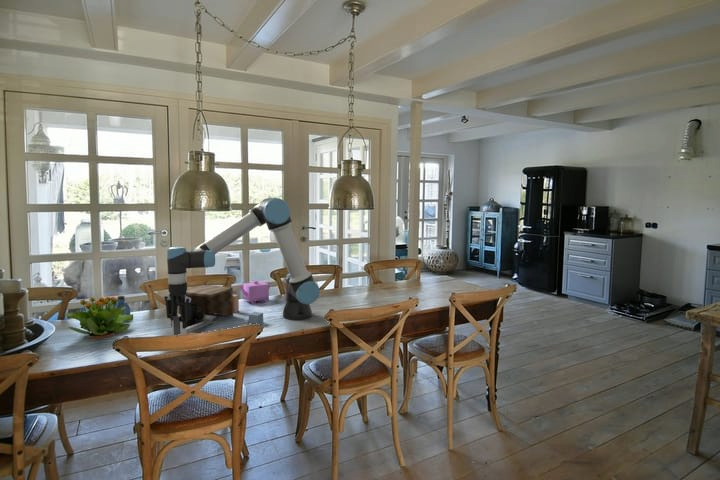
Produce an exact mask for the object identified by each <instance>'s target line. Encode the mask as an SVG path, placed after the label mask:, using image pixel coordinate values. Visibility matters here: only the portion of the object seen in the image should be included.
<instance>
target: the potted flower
mask: <svg viewBox="0 0 720 480" xmlns="http://www.w3.org/2000/svg"><path fill="white" fill-rule="evenodd" d="M79 302H80V306H81V305H82V306H83V307H84V310H81V311H80V312H79V311H74V312H73V311H72V312H65V313H64V315H65V316H66V318H70V319H73V320H77V321H79V325H80V328H81V329H80V328H77V327H73V326H67V328H68V329H69V330H71V331H73V332H76V333H78V334H79V333H80V334H83V335H88V336H89V338H90V339H92V340H94V339H95V340H99V339H100V340H101V339H106V338H110V337H112V336H115V334H116V333H117V334H122V333H123V332H126V330H128V329H129V328H130V327H131V324H130V323H124V322H133V320H134V314H133V313H130V314H129V315H126V314H124V315H121V313H123V312H124V311H123V310H124V309H126V307H124V308H122V309H121V308H116V309H115V308H114V305H115V304H116V305H117V303H118V298H116V297H115V296H111V297H110V296H106V297H100V298H99V299H98V300H96V298H95V297H94V296H91V297H90V298H89V300H87V301H86V299H85V298H84V299H81V300H80V301H79ZM116 305H115V306H116ZM104 306H105V307H104ZM87 310H88V311H87Z"/></svg>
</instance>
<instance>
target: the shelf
mask: <svg viewBox="0 0 720 480" xmlns="http://www.w3.org/2000/svg"><path fill="white" fill-rule="evenodd" d="M233 289H234V287H229V286H221V285H212V284H211V285H210V284H202V285H198V286H195V287H191V288H187V291H186V294H187V297H189V298H192V302H191V303H194V304H197V307H204V312H203V313H204V314H211V315H222V316H230V317H233V316H234V313H233V293H234V290H233ZM197 312H198V313H202V308H197Z"/></svg>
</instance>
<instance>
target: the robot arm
mask: <svg viewBox="0 0 720 480" xmlns="http://www.w3.org/2000/svg"><path fill="white" fill-rule="evenodd" d="M265 224H266V226H267V229H268V231H270V232H272V233H273V235H274V238H275V240H276V243H277V245H278V249H279V251H280V254H281V256H282V258H283V261H284V264H285V267H286V270H287V271H288V273H287V274H286V276H285V297H286V299H285V305H284V307H283V312H282V318H284V319H287V320H291V321H292V320H295V321H297V320H305V319H309V318H311V317H312V316H313V310H312V308H311V304H313V303H314V302H316V301H317V300H318V299H319V296H320V294H321V290H320V286H319V285H318V283H317V282H315V279H314V277H313V276H314V275H313V274H312V272H311V271H309V270H308V268H307V267H306V264H305V261H304V259H303V256H302V253H301V250H300V248H299V246H298V243H297V240H296V238H295V234H294V233H293V229H292V227H291V225H292V217H291V209H290V206H289V204H288V203H287V202H286V201H285V200H284V199H282V198H280V197H279V198H278V197H267V198H264V199H263V200H261V201H260V202H259V203H258V204H256V205H255V206H254V207H252V208H250V209H249V210H248V213H246V214H245V215H244V216H242V217H241V218H239V219H238V220H236V221H235V222H233V223H232V224H230V225H228V226H227V227H226V228H224V229H223V230H221V231H220V232H218V233H216V234H215V235H212V237H210V238H209V239H207V240H205V241H204V242H202V243H201V244H200V245H198V246H195V247H194V248H192V249H191V251H189V250H188V251H187V248H186V247H185V246H172V247H168V248H167V251H166V252H167V253H166V254H167V255H166V261H167V283H168V284H167V285H168V286H167V287H168V292H169V294H168V295H165V296H164V297H163V298H164V301H165V308H166V309H165V310H166V311H165V312H166V318H167V319H170V324H171V325H170V326H171V329H172V336H174V328H173V316H174V315H177V314H178V310H179V309H180V315H181V321H180V334H186V335H187V333H186V328H187V327H188V326H187V320H189V319H191V302H192V298H189V297H187V294H186V291H187V290H188V282H187V281H188V280H187V279H188V278H187V276H188V275H187V274H188V272H187V269H199V268H200V269H201V268H205V269H207V268H213V267H215V265H216V255H217V254H218V253H219V252H221V251H223V250H224V249H225V248H227V247H229V246H230V245H231V244H233V243H235V242H236V241H237V240H239V239H240V238H242V237H243V236H245V235H247V234H248V233H249V232H251V231H252V230H253V229H255V228H257V227H262V226H264V225H265Z"/></svg>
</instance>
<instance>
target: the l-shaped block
mask: <svg viewBox="0 0 720 480" xmlns="http://www.w3.org/2000/svg"><path fill="white" fill-rule="evenodd" d="M239 305H240V303H239V294H233V312H235V313H237V311H238V312H240V310H239V308H240V307H239Z"/></svg>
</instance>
